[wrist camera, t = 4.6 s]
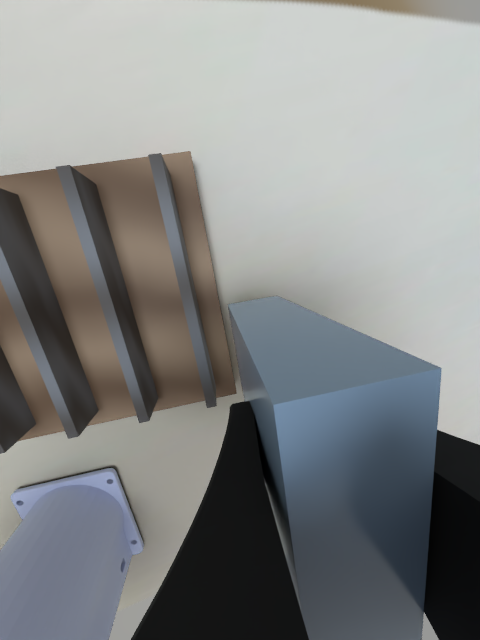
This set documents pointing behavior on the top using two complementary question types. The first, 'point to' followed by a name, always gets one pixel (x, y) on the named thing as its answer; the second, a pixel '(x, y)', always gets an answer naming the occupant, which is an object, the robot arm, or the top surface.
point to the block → (343, 465)
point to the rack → (105, 297)
